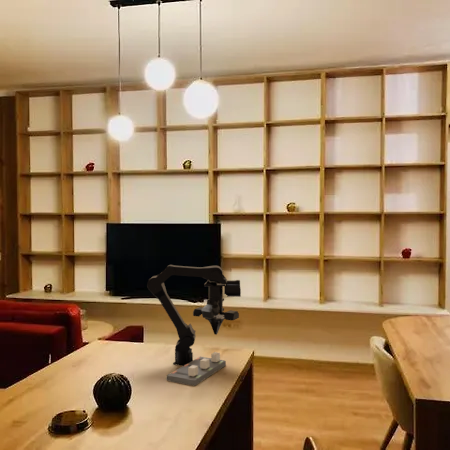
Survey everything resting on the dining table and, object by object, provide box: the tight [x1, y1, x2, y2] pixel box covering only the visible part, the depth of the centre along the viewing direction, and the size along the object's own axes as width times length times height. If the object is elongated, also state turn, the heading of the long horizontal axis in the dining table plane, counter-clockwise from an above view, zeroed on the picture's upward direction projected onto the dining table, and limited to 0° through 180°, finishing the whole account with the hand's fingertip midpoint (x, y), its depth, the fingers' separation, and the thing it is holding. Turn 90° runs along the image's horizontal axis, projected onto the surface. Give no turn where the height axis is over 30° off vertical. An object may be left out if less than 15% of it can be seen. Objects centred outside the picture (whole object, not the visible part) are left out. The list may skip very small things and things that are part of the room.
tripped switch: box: [188, 365, 198, 376], centre depth 182 cm, size 2×3×3 cm
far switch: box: [210, 351, 221, 362], centre depth 198 cm, size 2×3×3 cm
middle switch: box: [200, 357, 209, 369], centre depth 190 cm, size 2×3×3 cm
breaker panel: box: [166, 356, 227, 387], centre depth 191 cm, size 12×25×2 cm, turn 153°
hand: (215, 334), depth 202 cm, fingers closed
